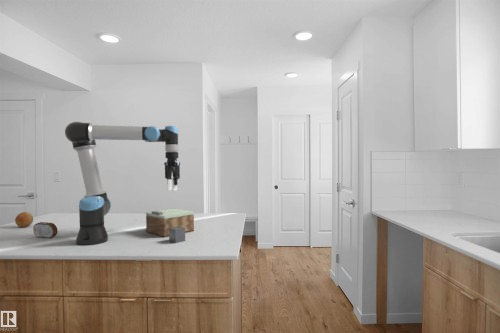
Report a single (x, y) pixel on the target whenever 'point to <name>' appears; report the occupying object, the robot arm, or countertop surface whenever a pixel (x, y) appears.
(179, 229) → the block
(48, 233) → the tin
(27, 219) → the onion
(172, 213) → the lid
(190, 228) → the storage box
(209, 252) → the countertop surface
